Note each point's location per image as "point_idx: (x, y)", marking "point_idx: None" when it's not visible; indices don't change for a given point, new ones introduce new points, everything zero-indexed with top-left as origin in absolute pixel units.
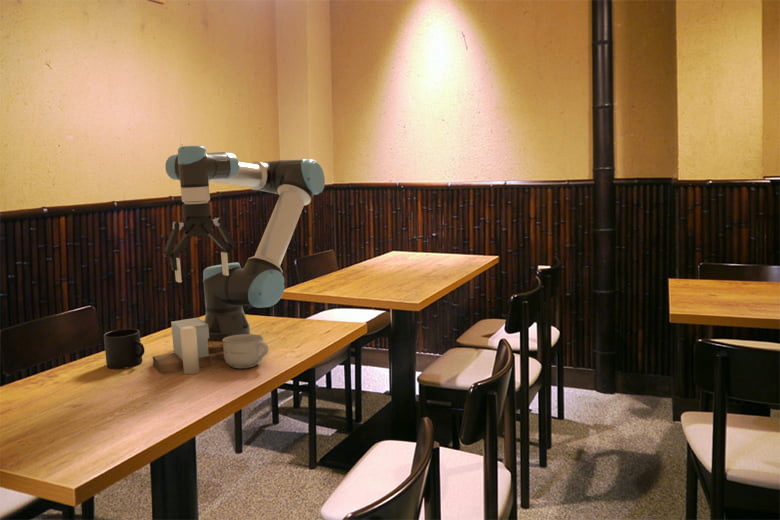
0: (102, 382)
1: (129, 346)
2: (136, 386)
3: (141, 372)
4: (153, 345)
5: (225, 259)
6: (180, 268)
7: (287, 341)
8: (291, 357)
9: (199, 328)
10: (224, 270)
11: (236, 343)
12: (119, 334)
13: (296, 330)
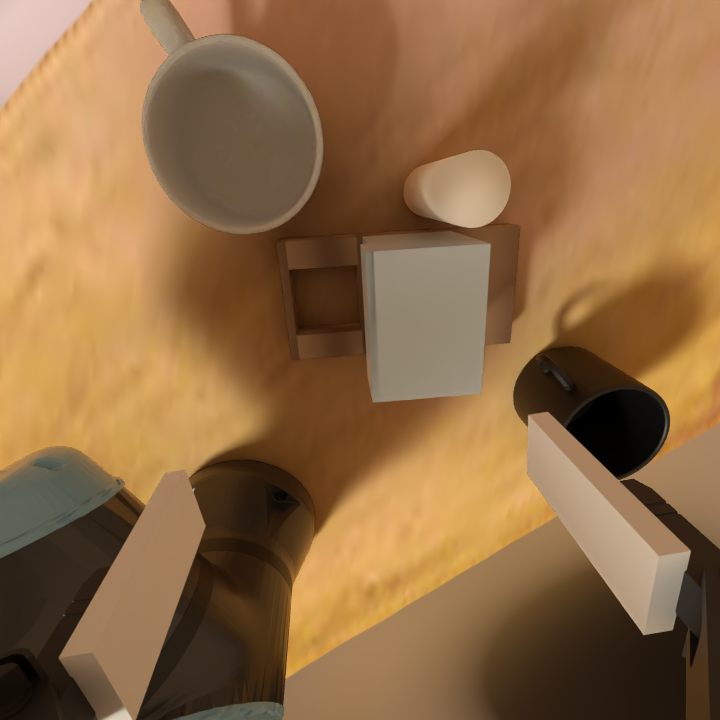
0: (661, 246)
1: (589, 371)
2: (607, 137)
3: (548, 281)
4: (444, 516)
5: (125, 579)
6: (590, 479)
7: (67, 358)
8: (75, 147)
9: (403, 247)
10: (182, 521)
11: (278, 54)
12: None
13: None
